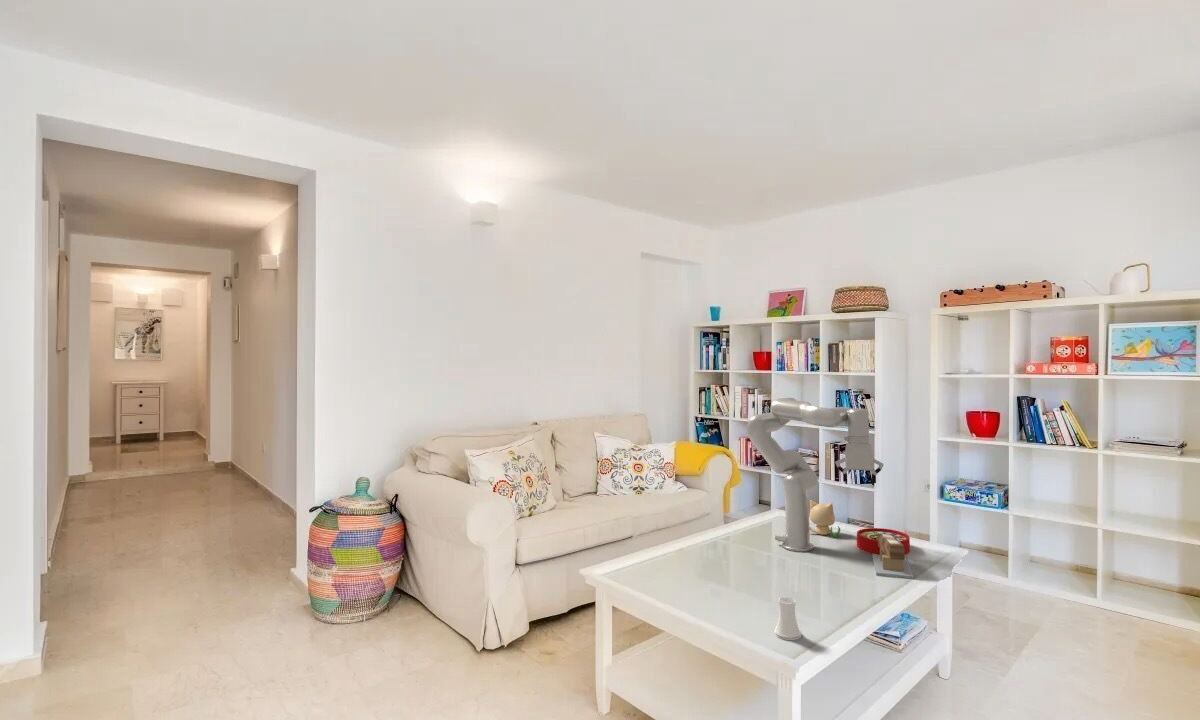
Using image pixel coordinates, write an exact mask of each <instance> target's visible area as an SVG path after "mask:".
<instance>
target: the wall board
mask: <svg viewBox="0 0 1200 720" xmlns="http://www.w3.org/2000/svg"><path fill="white" fill-rule="evenodd" d="M871 554H872V553H871ZM871 557H872V561H873V567H874V570H875V575H876V576H879V577H888V578H889V577H890V578H897V579H898V578H900V579H910V580H913V579H914V575H913V573H912V570H911V567H910V565H909V562H908V559H907V557H906V556H905V560H894V559H889V558H888V557H887V555H886V554H885V553H884V552H883V551H882V550H881V549H880V555H877V554H872V555H871ZM912 578H913V579H912Z"/></svg>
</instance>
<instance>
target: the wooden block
mask: <svg viewBox="0 0 1200 720" xmlns="http://www.w3.org/2000/svg"><path fill="white" fill-rule="evenodd" d="M878 547H879V548H880V549H881V550H882V551H883V552H884V553H885V554H886V555H887V557H888V558H889V559H894V560H905V557H906V556H905V551H904V545H903V544H902V543H901V542H900V541H899V540H897V539H896V538H895V537H894V536H893V535H892V534H886V533H878Z"/></svg>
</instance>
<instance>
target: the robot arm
mask: <svg viewBox="0 0 1200 720" xmlns="http://www.w3.org/2000/svg"><path fill="white" fill-rule="evenodd" d="M869 419H870V417H869V410H868V409H866V408H861V407H860V408H858V407H857V408H855V407H853V408H851V407H846V406H837V407H831V408H830V407H829V408H828V407H820V406H816V405H812V404H811V403H810V402H809V401H804V400H797V399H796V398H794V397H781V398H776V399H775V400H774V401H772V403H771V404H770V412H765V413H759V414H756V415H754V416H752V417H750V419H749V420H748V422H747V424H746V434H747V436H748V437H747V438H749V441H750V443H752V444H753V446H754V447H755V448H756V450H757V451H759V453H760V454H761V456H762V457H763V458H764V460H765V461H766V463H767V464H768V465H769V467H770V468H771V470H772V471H774V473H776V474H779V475H782V474H787V475H786V476H785V477H784V478H783V481H782V491H783V495H784V506H785V507H784V509H785V511H784V512H785V534H784V535H775V536H774V540H775V541H777V542H782V544H781V546H782V548H784V549H786V550H788V551H792V552H803V553H804V552H810V551H813V550H814V544H813V543H811V541H810V540H811V539H810V536H811V535H810V530H809V527H810V503H809V500H808V496H807V493H810V492H813V491H815V490H816V489H817V488H818V485H819V479H818V476H817V474H816V473H815V470H814V469H812V467H811V466H810V465H809V463H808V462H807V461H806V460H805V459H804V458H803V456H802V455H801V454H800V453H799V452H797V451H796V450H793V449H785V450H784V449H783V448H782V447H781V446H780V445H779V443H778V442H777V440H775V439H774V438H773V437H771V436H770V435H769V434H768V433H771V432H777V431H778V430H781V429H782V428H783V427H784V426H786V425H787V424H788V423H790V421H794V422H795V421H797V422H802V423H806V424H809V425H813V426H818V427H824V428H825V427H826V428H837V427H838V428H839V427H844V426H847V436H844V438H843V441H846V442H847V443H845V444H846V445H845V451H844V457H842V458H841V459H839V460H836V461H835V462H834V463H835V465H836V467H837V469H838V470H839V471H840V472H841V473H842V479H843V481H842V482H844V483H845V485H848V472H849V470H850V471H870V472H871V486H872V487H873V486H875V484H877V475H878V474H879V473H880V472H881V470H882V469H883V467H884V463H883V462H881V461H879V460H877V459H875V458H874V450H873V446H872V444H871V443H870V423H869V422H870V420H869ZM843 463H844V466H845V467H844V468H843V467H842V466H841V464H843ZM874 464H876V465H877V468H876V469H874V467H875V466H874Z"/></svg>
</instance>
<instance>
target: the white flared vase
mask: <svg viewBox="0 0 1200 720" xmlns="http://www.w3.org/2000/svg"><path fill="white" fill-rule="evenodd" d="M796 604H797V601H796V599H794V598H792V597H788V596H783V597H782V596H781V597H778V608H779V612H778V613H779V614H778V621H777V624H776V627H775V628H774V629H773V631H774V635H775V636H776V637H777V638H779V639H781V640H784V641H785V640H787V641H797V640H799V639H801V638H802V631H801V630H800V628H799V625H798V622H797V621H798V620H797V615H796Z"/></svg>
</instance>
